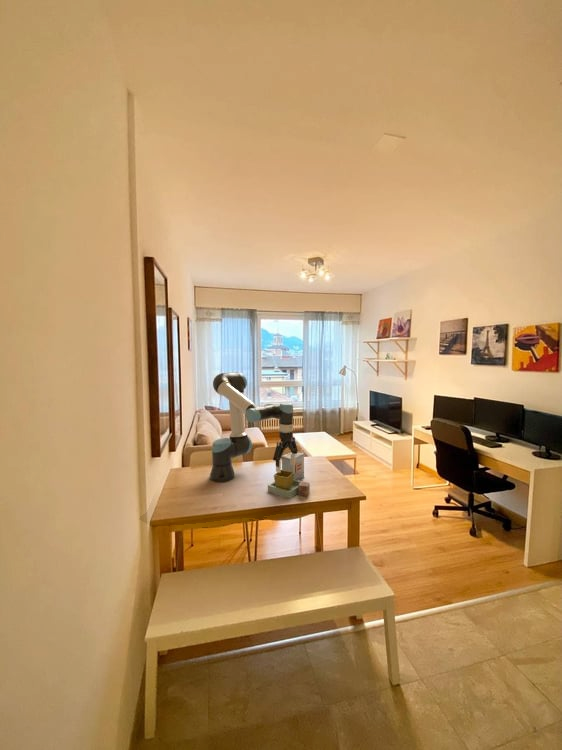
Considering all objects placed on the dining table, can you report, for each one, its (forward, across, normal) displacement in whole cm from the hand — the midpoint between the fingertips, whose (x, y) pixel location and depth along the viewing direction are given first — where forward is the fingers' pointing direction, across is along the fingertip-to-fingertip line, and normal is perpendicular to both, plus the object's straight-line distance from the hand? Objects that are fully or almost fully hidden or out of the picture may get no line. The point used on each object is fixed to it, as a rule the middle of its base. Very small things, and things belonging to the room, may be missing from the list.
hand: (285, 468), depth 171 cm
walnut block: (+12, +1, -12) cm, 17 cm away
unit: (+12, +15, +5) cm, 20 cm away
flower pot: (+12, -2, 0) cm, 12 cm away
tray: (+12, 0, -1) cm, 12 cm away
